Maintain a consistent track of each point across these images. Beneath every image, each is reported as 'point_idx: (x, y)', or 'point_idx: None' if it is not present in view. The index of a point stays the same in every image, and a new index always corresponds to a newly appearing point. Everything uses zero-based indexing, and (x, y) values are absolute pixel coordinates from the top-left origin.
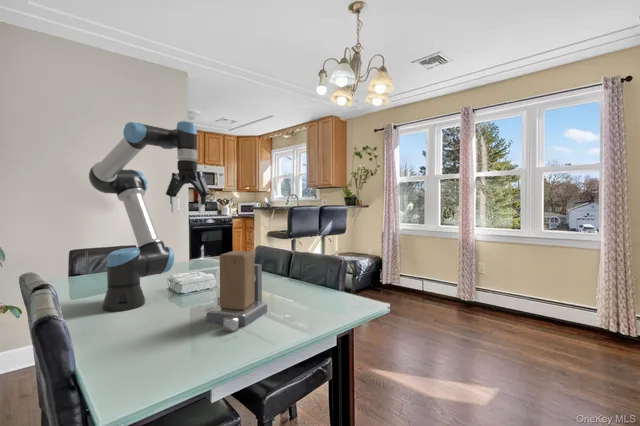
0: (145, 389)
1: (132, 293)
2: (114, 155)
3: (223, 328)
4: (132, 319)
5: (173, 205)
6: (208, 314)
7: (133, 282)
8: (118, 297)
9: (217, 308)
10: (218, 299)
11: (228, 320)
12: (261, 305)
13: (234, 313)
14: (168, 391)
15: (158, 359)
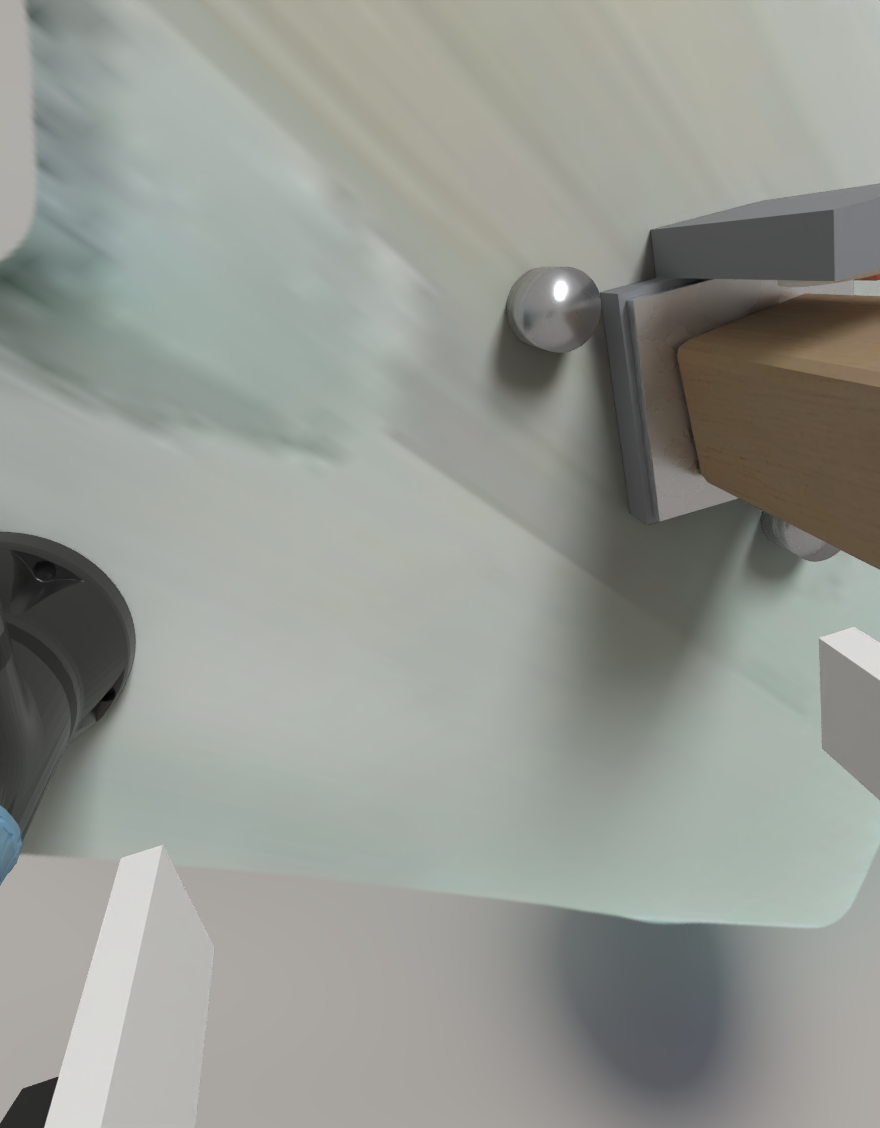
0: (823, 851)
1: (95, 671)
2: None
3: (778, 544)
4: (309, 696)
5: (189, 1090)
6: (656, 520)
7: (65, 697)
8: (83, 729)
9: (684, 482)
10: (556, 352)
11: (828, 552)
12: (849, 291)
13: None
14: (874, 825)
15: (733, 780)
